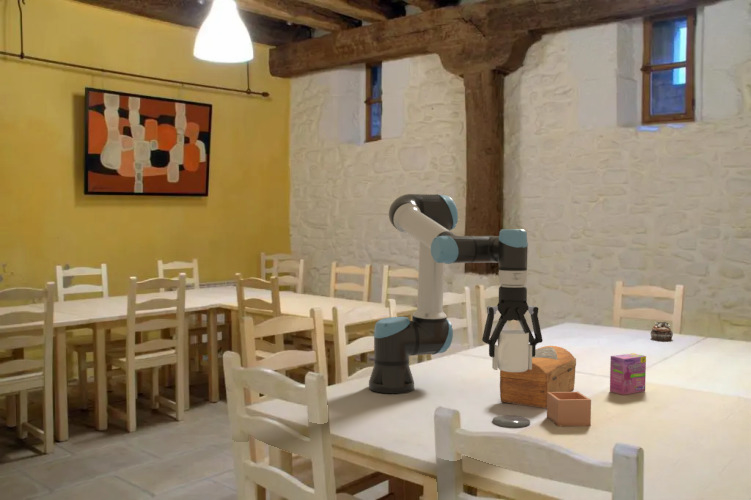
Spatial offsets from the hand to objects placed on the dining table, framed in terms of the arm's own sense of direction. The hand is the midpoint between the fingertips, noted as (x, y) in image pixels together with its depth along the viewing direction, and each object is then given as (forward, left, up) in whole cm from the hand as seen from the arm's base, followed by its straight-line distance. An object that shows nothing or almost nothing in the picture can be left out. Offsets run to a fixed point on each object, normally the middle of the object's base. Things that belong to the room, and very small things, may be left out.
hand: (512, 368), depth 187 cm
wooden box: (+17, +30, -15) cm, 38 cm away
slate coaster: (0, 0, -15) cm, 15 cm away
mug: (-1, -1, 0) cm, 2 cm away
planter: (+16, 0, -15) cm, 22 cm away
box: (+48, +32, -15) cm, 60 cm away
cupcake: (+106, +121, -15) cm, 162 cm away
